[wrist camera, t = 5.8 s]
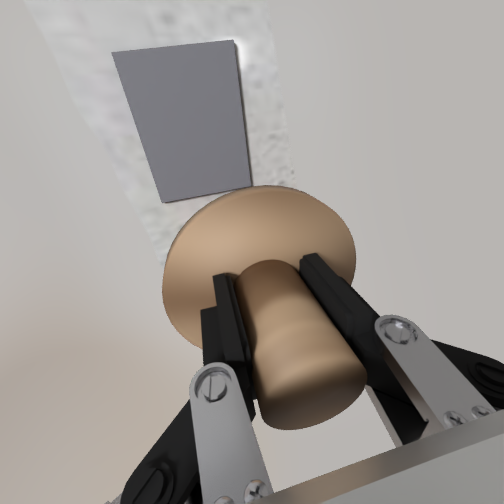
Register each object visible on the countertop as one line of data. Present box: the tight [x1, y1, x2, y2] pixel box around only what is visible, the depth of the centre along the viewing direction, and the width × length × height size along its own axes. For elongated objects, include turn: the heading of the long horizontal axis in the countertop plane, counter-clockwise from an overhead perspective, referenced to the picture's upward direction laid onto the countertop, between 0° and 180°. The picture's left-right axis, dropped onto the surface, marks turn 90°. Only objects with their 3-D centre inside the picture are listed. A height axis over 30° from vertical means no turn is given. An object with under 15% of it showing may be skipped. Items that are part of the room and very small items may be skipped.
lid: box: [162, 185, 367, 430], centre depth 9 cm, size 9×9×6 cm
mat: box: [111, 40, 251, 203], centre depth 26 cm, size 14×11×1 cm
